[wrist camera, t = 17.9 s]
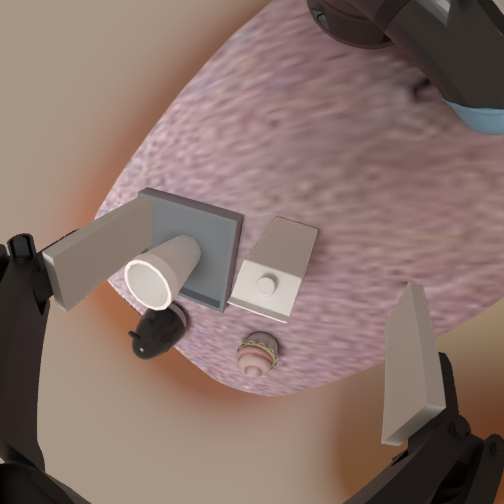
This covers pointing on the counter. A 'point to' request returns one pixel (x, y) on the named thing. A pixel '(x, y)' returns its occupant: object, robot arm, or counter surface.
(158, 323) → the pump dispenser
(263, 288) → the milk carton
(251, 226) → the counter surface
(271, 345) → the cupcake
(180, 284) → the foam cup
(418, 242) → the counter surface
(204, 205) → the tray
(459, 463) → the robot arm
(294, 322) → the counter surface
